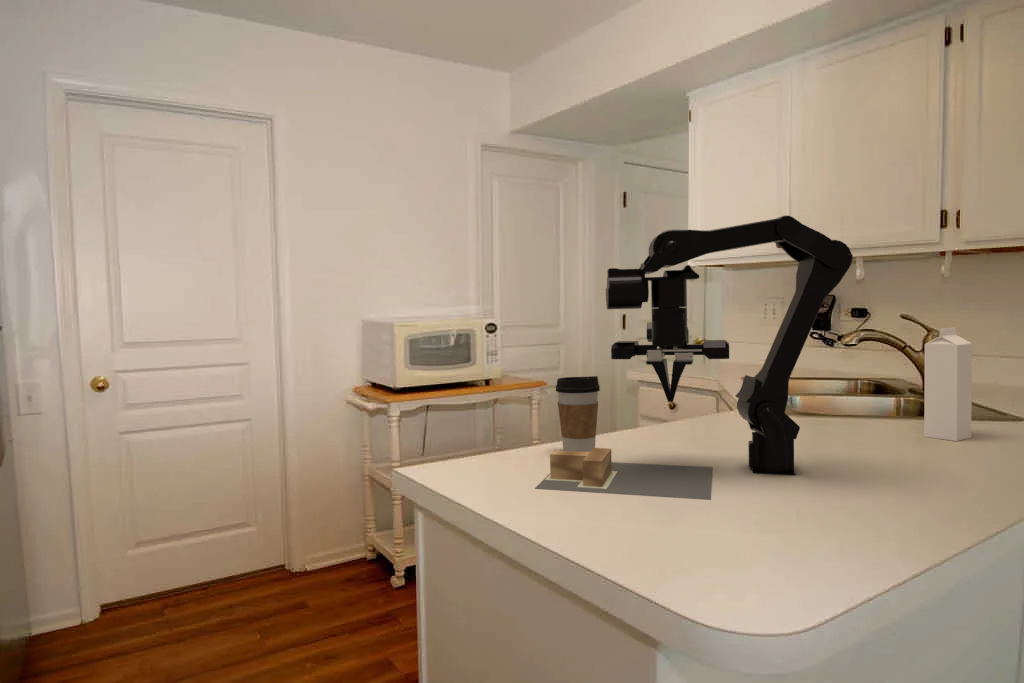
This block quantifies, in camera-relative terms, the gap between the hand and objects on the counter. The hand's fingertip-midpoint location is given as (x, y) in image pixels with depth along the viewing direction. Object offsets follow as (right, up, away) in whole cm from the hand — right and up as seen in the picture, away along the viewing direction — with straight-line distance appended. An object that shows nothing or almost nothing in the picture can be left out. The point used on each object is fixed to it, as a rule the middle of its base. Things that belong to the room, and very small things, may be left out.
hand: (670, 401), depth 107 cm
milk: (+61, -9, +22) cm, 65 cm away
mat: (-8, -12, -3) cm, 15 cm away
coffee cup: (-14, -12, +16) cm, 24 cm away
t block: (-15, -12, -3) cm, 20 cm away
